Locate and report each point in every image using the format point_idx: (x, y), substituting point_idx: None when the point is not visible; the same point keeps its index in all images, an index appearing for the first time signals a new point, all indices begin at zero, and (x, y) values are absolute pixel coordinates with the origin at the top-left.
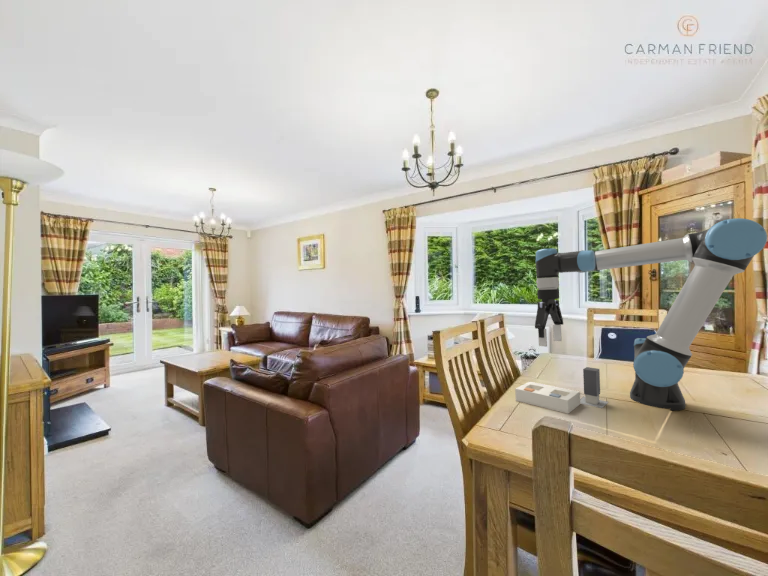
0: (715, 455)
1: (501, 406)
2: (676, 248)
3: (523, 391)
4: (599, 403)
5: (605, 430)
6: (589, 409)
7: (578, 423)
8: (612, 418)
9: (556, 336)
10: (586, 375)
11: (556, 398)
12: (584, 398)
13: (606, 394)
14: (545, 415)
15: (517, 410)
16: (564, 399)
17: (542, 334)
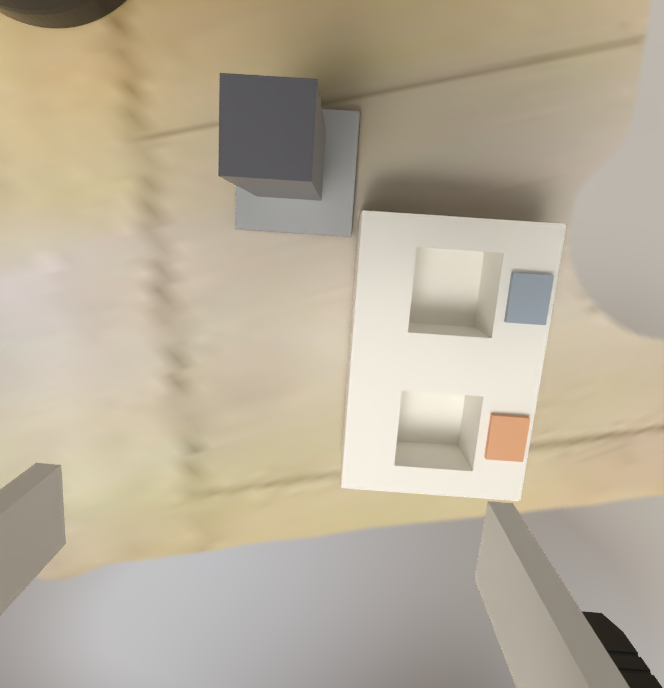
0: None
1: (582, 493)
2: None
3: (524, 455)
4: None
5: (616, 49)
6: (381, 168)
7: (597, 166)
8: (442, 51)
9: (24, 549)
10: (316, 165)
11: (555, 283)
12: (262, 218)
13: (82, 148)
14: (582, 309)
15: (591, 423)
16: (560, 242)
17: (641, 663)
